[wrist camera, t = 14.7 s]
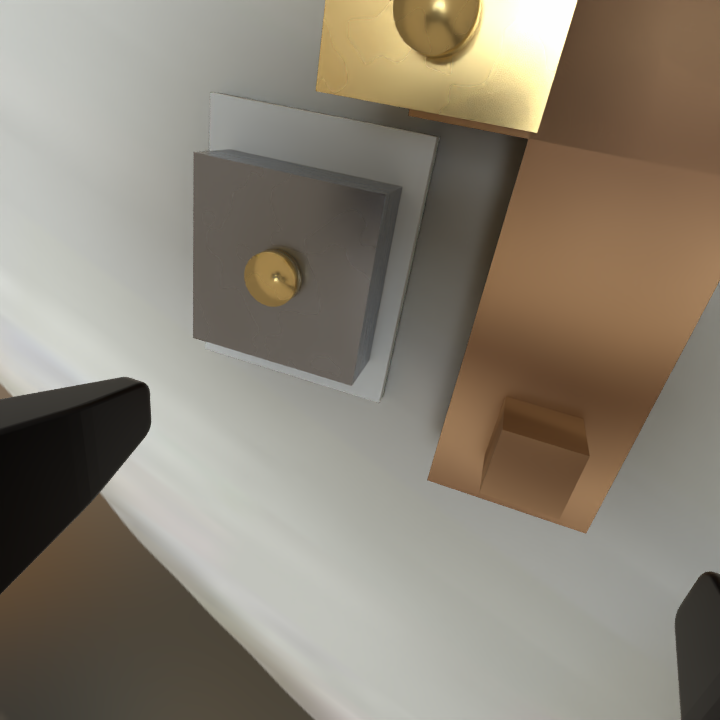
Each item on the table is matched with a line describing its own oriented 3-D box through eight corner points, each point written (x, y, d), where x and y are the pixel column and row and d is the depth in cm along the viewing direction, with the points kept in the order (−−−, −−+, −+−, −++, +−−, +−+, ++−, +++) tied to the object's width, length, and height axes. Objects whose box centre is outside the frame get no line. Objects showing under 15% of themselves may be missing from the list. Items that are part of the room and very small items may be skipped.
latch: (536, 131, 13) (537, 133, 10) (350, 96, 14) (302, 88, 11) (590, -49, 11) (610, -109, 8) (373, -73, 12) (323, -135, 9)
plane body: (665, 506, 19) (704, 619, 15) (367, 412, 21) (325, 485, 17) (1287, -513, 8) (2114, -1207, 4) (551, -480, 11) (563, -896, 6)
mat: (382, 396, 21) (379, 403, 20) (212, 343, 22) (205, 348, 22) (439, 136, 16) (437, 137, 16) (219, 93, 18) (210, 92, 17)
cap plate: (369, 360, 20) (346, 393, 17) (224, 318, 21) (183, 343, 18) (402, 186, 16) (380, 197, 14) (230, 148, 18) (182, 153, 15)
